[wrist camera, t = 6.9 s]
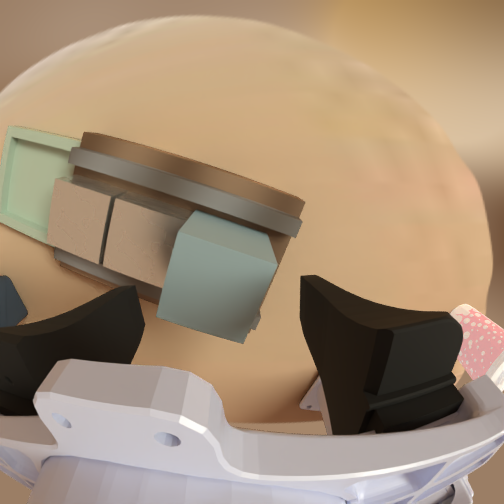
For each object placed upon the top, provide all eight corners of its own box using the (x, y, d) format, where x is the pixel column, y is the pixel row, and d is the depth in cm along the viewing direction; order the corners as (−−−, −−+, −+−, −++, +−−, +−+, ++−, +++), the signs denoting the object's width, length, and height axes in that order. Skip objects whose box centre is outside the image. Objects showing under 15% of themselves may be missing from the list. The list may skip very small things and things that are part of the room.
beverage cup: (425, 339, 23) (502, 439, 10) (460, 288, 21) (557, 371, 8) (451, 353, 24) (517, 435, 11) (483, 308, 22) (562, 380, 9)
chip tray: (91, 142, 16) (83, 142, 15) (71, 246, 19) (63, 251, 17) (17, 125, 15) (8, 125, 14) (3, 216, 17) (-5, 219, 16)
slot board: (298, 197, 18) (309, 205, 15) (248, 318, 21) (249, 341, 18) (97, 133, 16) (75, 131, 13) (73, 256, 19) (53, 270, 16)
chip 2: (193, 211, 16) (185, 221, 14) (175, 272, 17) (166, 289, 15) (132, 191, 16) (115, 198, 13) (118, 251, 17) (102, 266, 14)
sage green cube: (267, 233, 17) (277, 264, 12) (242, 296, 18) (243, 343, 13) (196, 209, 16) (178, 231, 11) (176, 275, 17) (156, 316, 13)
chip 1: (128, 190, 16) (111, 196, 13) (114, 250, 17) (98, 264, 14) (76, 174, 15) (55, 178, 13) (66, 231, 16) (46, 242, 14)
